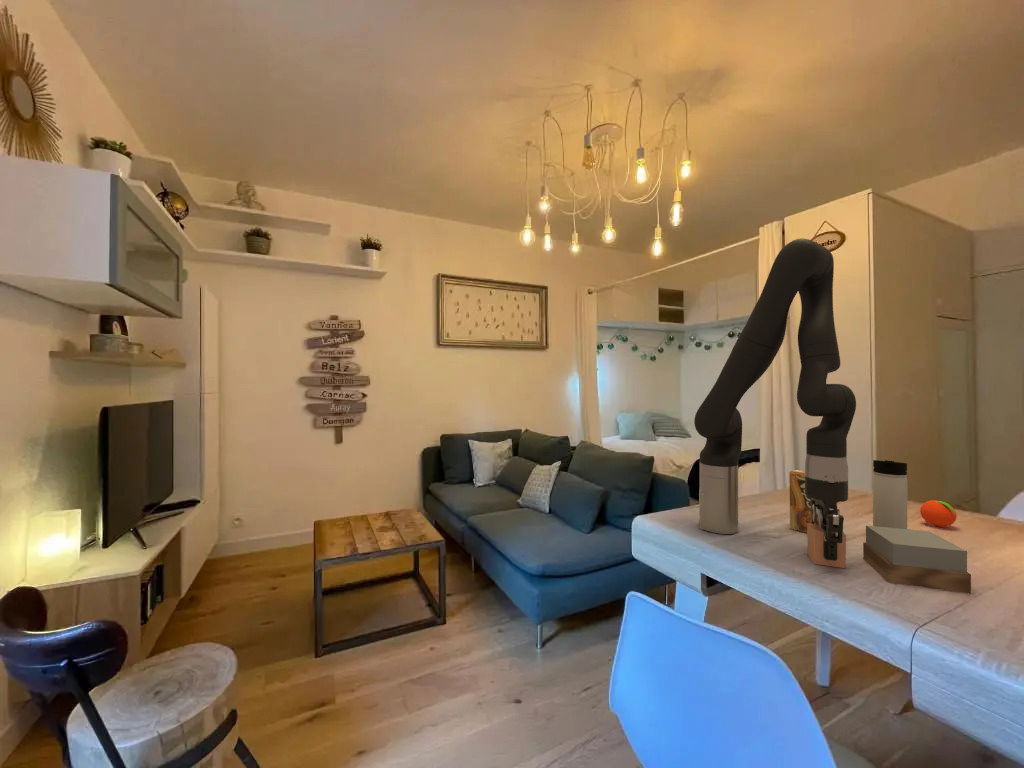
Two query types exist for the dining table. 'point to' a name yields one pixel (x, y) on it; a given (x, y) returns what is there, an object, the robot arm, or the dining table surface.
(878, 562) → the walnut slab
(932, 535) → the grey slab
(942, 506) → the clementine
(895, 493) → the travel mug
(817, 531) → the terracotta block
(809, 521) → the candy box
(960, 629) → the dining table surface
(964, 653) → the dining table surface
